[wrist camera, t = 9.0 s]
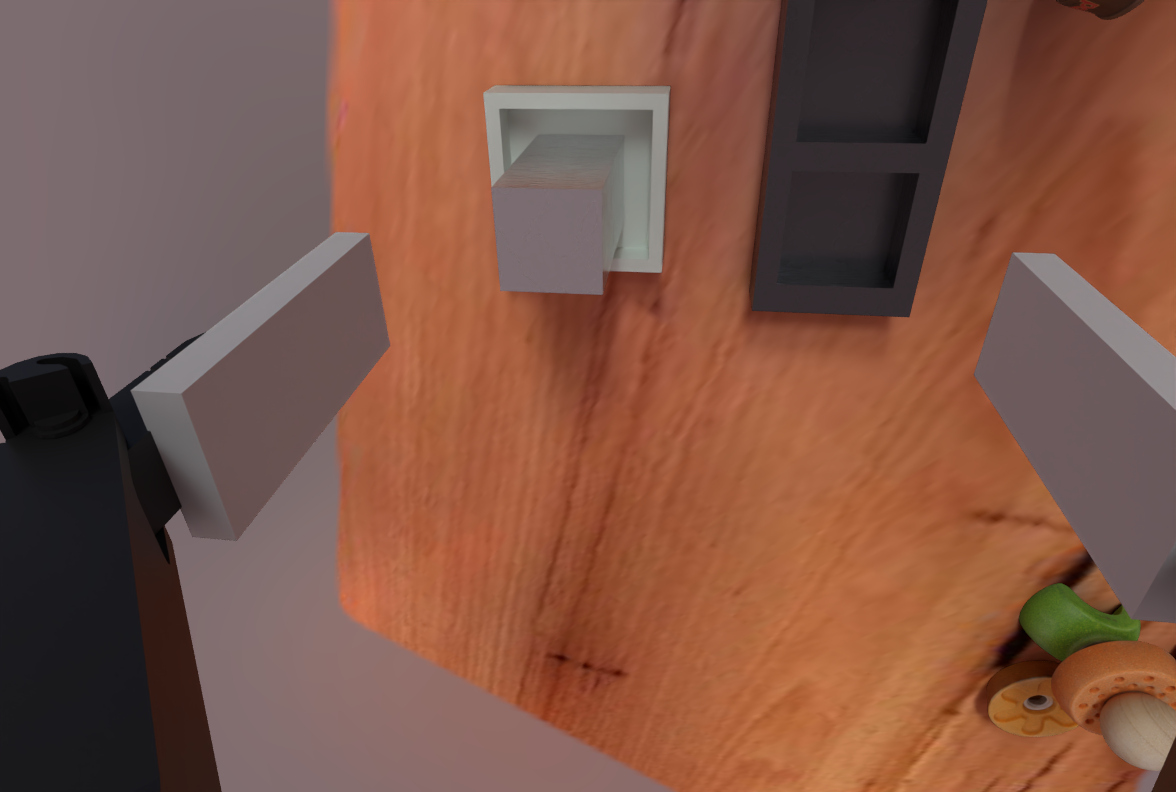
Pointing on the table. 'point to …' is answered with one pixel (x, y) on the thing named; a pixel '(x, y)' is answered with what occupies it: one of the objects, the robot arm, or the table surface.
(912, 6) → the dark rectangular frame
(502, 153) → the tray
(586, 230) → the grey rectangular block
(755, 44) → the table surface
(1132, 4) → the tin
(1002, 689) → the wooden stacking toy
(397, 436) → the table surface
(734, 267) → the table surface
